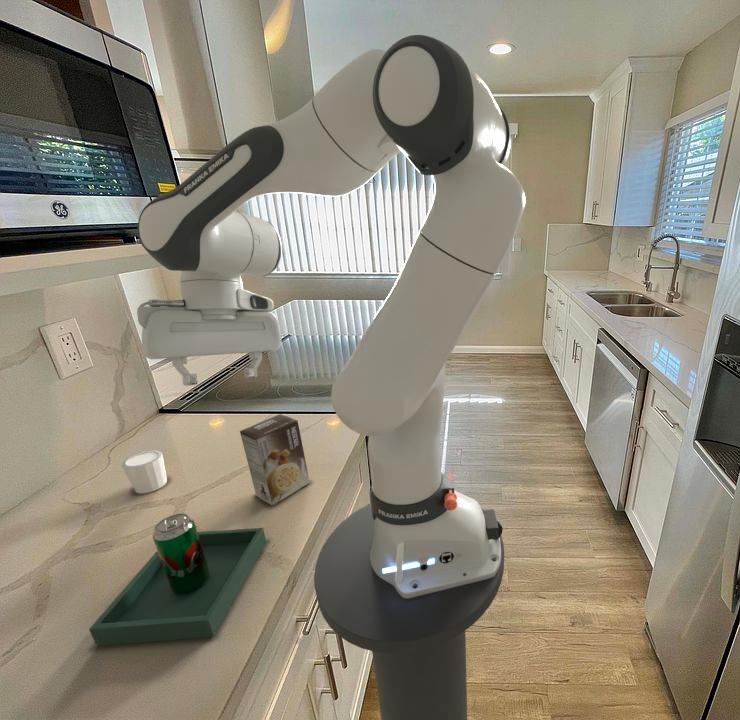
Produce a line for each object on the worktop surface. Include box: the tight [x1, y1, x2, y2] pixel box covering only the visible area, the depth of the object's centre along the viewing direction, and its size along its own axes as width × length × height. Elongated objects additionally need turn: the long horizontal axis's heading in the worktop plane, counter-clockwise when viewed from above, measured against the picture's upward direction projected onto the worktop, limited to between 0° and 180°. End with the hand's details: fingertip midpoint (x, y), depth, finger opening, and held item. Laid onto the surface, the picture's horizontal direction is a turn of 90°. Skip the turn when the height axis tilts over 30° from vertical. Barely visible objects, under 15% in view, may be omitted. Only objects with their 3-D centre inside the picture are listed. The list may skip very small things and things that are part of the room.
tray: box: [88, 527, 267, 647], centre depth 63 cm, size 16×18×3 cm
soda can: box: [152, 512, 209, 594], centre depth 61 cm, size 5×5×12 cm
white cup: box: [121, 450, 168, 494], centre depth 87 cm, size 7×7×7 cm
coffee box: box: [239, 413, 311, 506], centre depth 84 cm, size 9×6×16 cm
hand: (222, 381), depth 68 cm, fingers open, 8 cm apart
